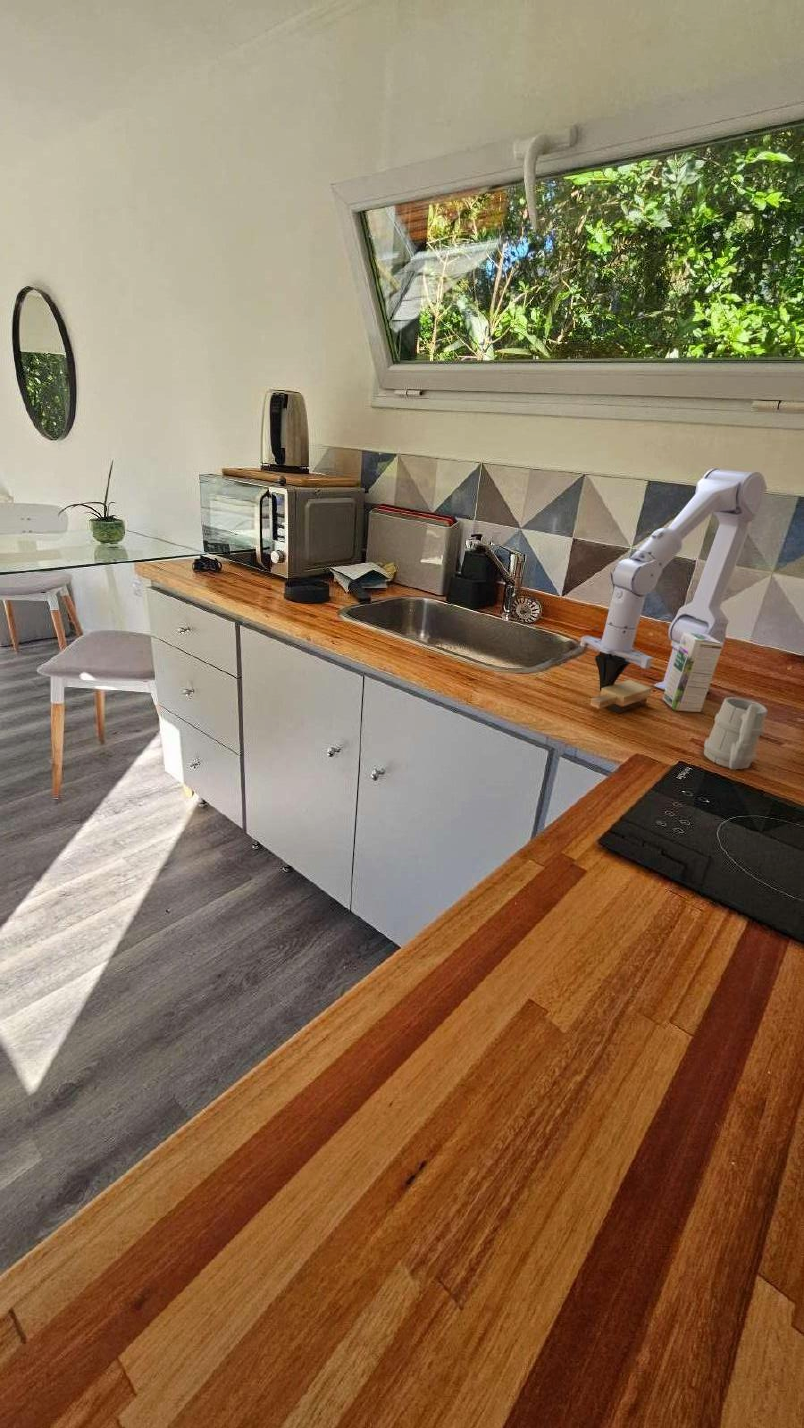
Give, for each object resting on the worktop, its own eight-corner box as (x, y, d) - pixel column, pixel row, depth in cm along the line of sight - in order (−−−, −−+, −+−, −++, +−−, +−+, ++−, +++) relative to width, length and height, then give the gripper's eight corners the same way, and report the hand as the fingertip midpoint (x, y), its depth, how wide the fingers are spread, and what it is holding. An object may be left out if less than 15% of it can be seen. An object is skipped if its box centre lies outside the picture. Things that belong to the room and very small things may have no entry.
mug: (748, 754, 101) (773, 689, 96) (758, 786, 91) (786, 715, 86) (700, 743, 104) (721, 679, 99) (704, 773, 93) (728, 703, 89)
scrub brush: (625, 695, 122) (629, 679, 121) (647, 704, 119) (652, 687, 117) (580, 710, 113) (585, 692, 111) (603, 720, 109) (608, 702, 108)
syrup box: (661, 699, 122) (681, 631, 116) (689, 701, 122) (710, 633, 116) (672, 710, 117) (694, 639, 111) (702, 713, 117) (725, 642, 111)
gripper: (577, 616, 115) (563, 681, 121) (645, 637, 105) (626, 707, 111) (598, 613, 119) (583, 676, 125) (665, 633, 109) (646, 701, 115)
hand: (605, 690), depth 118 cm, fingers closed
